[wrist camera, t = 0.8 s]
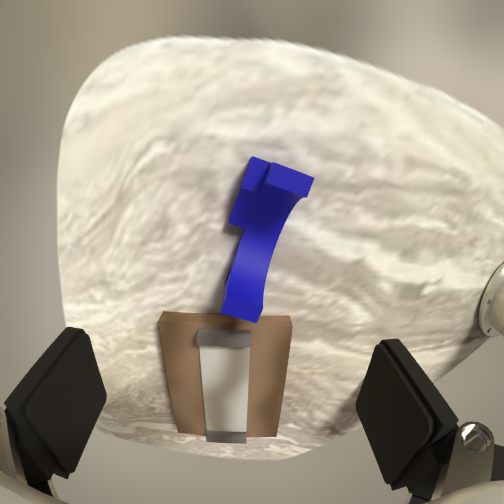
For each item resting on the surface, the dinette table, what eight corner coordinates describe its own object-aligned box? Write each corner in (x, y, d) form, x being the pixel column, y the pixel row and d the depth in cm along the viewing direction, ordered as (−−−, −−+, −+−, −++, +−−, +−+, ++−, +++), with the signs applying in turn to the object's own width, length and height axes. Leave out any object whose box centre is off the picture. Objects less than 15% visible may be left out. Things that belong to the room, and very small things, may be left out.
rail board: (289, 315, 29) (294, 334, 26) (275, 425, 35) (277, 445, 31) (163, 311, 29) (154, 329, 26) (180, 422, 34) (176, 440, 31)
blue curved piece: (251, 157, 25) (253, 155, 19) (298, 174, 25) (314, 177, 20) (210, 278, 28) (202, 307, 22) (254, 291, 29) (256, 323, 23)
